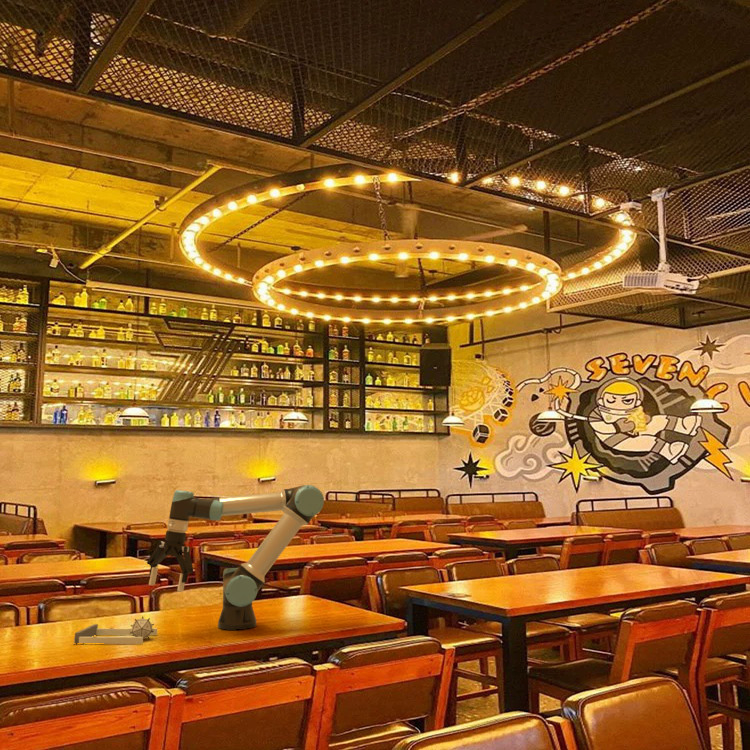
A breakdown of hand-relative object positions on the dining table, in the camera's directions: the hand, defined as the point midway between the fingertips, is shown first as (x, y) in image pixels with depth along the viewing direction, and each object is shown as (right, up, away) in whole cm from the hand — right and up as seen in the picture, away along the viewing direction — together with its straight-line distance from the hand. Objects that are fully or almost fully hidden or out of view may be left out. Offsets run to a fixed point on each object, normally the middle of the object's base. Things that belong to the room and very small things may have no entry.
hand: (165, 588), depth 279 cm
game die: (-8, -18, -5) cm, 20 cm away
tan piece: (-17, -18, -5) cm, 25 cm away
